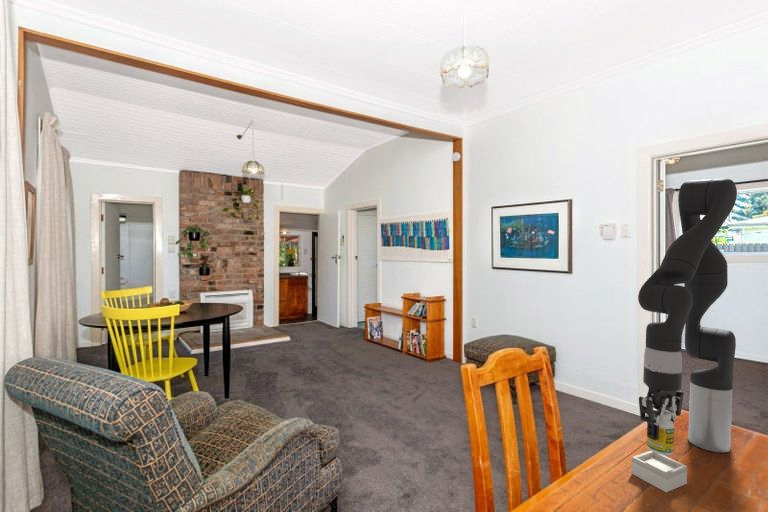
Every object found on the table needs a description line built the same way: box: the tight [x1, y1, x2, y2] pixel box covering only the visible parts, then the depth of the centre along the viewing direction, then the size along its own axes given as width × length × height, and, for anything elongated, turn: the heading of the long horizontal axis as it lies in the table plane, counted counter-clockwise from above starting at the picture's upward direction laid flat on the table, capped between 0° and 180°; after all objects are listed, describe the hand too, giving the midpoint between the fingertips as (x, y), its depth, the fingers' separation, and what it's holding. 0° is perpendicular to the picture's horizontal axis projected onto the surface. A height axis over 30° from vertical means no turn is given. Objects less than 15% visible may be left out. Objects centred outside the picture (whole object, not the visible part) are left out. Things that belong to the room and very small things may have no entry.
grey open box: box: [631, 450, 688, 493], centre depth 95 cm, size 8×8×4 cm
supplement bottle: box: [646, 408, 675, 456], centre depth 94 cm, size 5×5×10 cm
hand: (660, 435), depth 94 cm, fingers closed on supplement bottle, 5 cm apart
